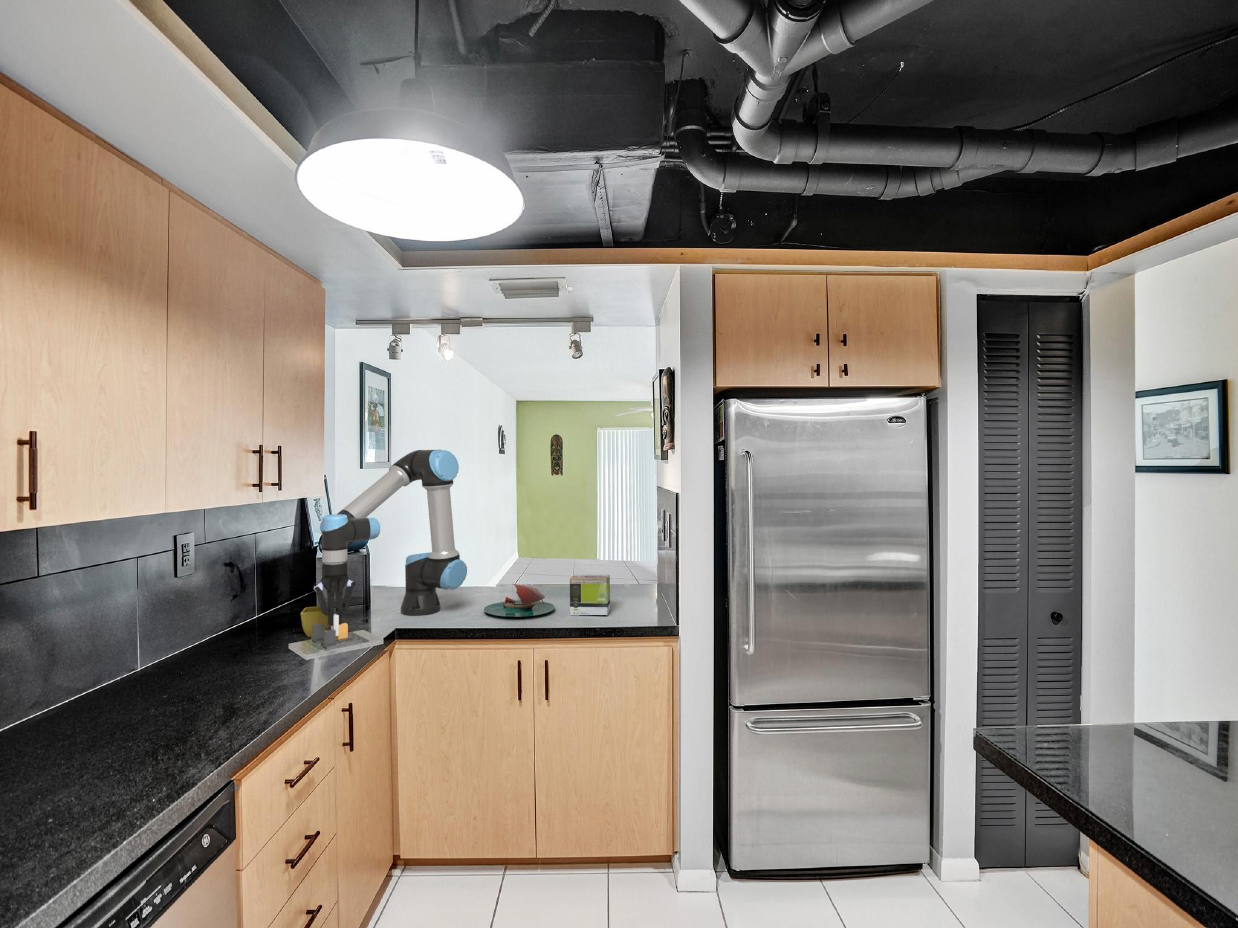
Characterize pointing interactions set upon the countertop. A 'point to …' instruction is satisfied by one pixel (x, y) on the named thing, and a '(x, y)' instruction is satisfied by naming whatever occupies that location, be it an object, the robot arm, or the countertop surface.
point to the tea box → (589, 594)
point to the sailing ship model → (521, 604)
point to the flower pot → (313, 619)
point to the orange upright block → (343, 631)
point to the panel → (353, 642)
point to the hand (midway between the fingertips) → (334, 634)
